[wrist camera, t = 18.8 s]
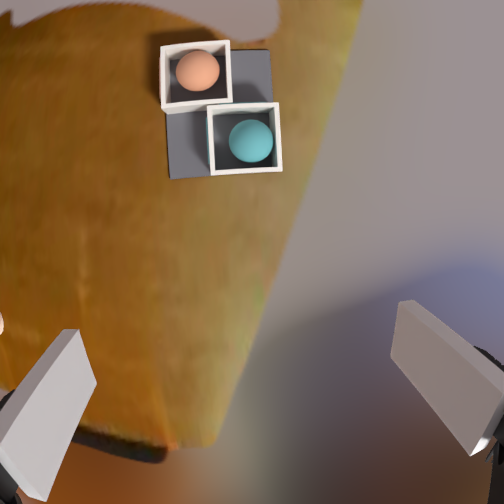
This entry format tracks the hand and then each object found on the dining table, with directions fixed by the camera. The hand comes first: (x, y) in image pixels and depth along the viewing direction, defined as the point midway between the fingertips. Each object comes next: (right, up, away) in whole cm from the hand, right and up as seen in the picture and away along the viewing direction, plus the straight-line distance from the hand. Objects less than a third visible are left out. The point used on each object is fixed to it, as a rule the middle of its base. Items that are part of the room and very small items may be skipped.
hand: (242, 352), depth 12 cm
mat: (-3, +21, +24) cm, 32 cm away
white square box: (-6, +25, +23) cm, 34 cm away
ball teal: (0, +16, +23) cm, 28 cm away
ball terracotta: (-6, +24, +20) cm, 32 cm away
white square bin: (-1, +17, +25) cm, 30 cm away
